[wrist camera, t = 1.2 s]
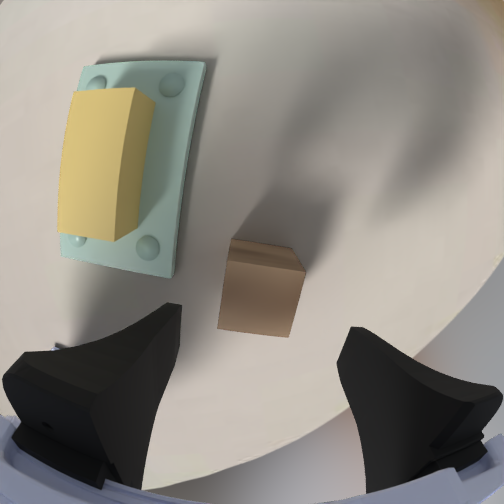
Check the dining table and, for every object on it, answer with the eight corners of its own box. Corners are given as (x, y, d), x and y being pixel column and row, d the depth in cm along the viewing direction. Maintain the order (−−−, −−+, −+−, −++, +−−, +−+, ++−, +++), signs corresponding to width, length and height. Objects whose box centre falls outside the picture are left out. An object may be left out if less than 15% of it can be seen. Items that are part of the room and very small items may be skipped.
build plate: (174, 273, 18) (170, 279, 17) (67, 252, 18) (59, 256, 16) (206, 67, 14) (204, 61, 13) (90, 70, 14) (82, 65, 13)
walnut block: (279, 302, 19) (288, 337, 15) (222, 293, 19) (217, 328, 15) (291, 248, 18) (305, 272, 14) (231, 238, 18) (227, 260, 13)
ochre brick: (137, 228, 16) (114, 242, 13) (86, 220, 16) (57, 231, 13) (155, 102, 14) (135, 87, 11) (101, 102, 14) (73, 91, 10)
